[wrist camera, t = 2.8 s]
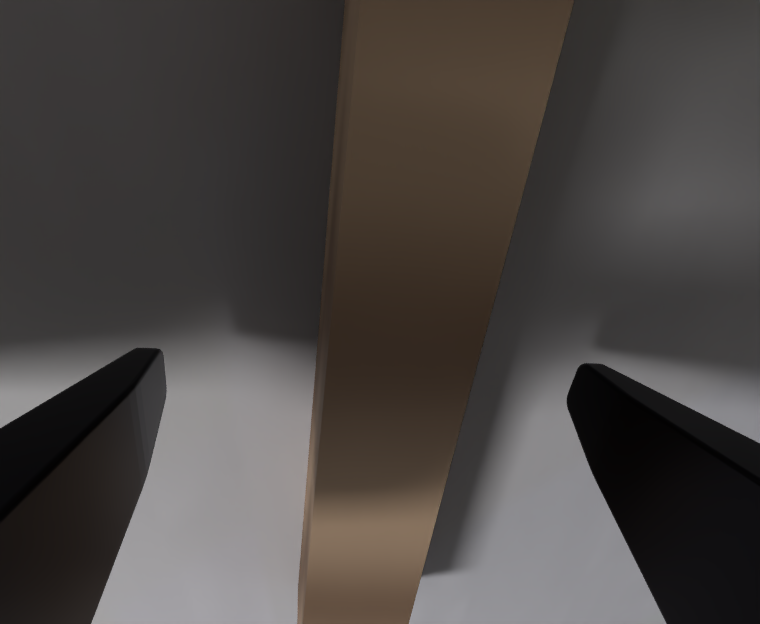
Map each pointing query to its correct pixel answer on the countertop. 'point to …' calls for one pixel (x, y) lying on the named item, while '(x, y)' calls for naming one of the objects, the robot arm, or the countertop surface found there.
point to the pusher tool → (411, 276)
